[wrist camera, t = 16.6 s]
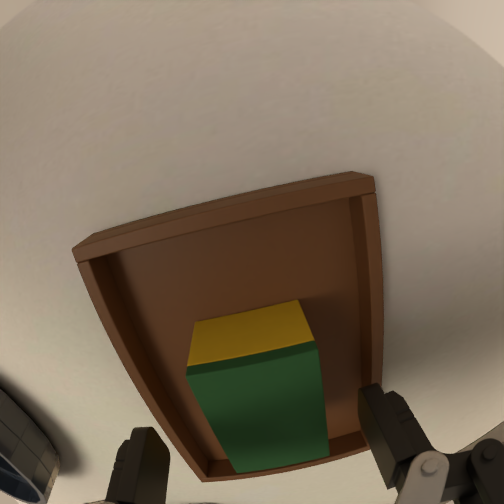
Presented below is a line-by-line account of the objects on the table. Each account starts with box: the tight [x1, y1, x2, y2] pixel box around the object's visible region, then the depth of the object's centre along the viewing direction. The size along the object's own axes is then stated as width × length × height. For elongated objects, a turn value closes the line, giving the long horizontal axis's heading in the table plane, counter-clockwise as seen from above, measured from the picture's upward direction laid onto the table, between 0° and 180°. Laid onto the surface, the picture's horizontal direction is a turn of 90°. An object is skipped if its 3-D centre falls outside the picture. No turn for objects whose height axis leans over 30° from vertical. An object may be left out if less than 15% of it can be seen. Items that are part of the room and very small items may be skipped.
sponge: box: [185, 300, 330, 473], centre depth 12 cm, size 7×4×4 cm, turn 13°
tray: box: [72, 171, 384, 482], centre depth 14 cm, size 16×11×2 cm
